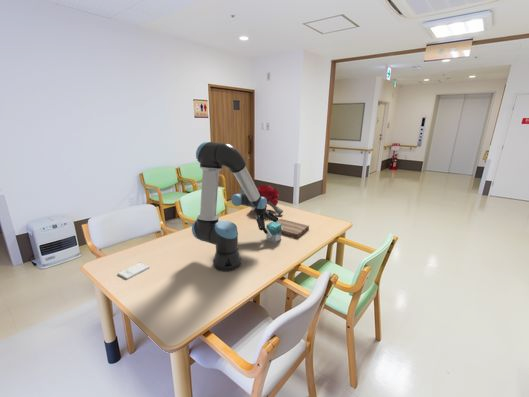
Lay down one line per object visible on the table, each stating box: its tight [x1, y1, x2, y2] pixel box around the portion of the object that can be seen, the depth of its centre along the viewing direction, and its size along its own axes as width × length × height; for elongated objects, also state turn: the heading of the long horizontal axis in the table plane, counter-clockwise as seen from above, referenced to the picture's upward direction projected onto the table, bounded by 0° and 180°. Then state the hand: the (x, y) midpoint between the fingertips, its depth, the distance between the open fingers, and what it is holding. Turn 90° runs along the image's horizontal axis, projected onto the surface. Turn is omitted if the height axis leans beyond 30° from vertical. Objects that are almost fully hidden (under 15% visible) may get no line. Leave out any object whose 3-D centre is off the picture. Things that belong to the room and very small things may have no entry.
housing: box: [265, 221, 282, 244], centre depth 172 cm, size 7×7×11 cm
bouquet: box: [256, 184, 284, 216], centre depth 221 cm, size 22×24×30 cm
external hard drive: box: [117, 262, 150, 281], centre depth 136 cm, size 2×8×12 cm
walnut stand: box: [278, 218, 310, 239], centre depth 189 cm, size 18×24×3 cm
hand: (276, 233), depth 171 cm, fingers open, 13 cm apart
